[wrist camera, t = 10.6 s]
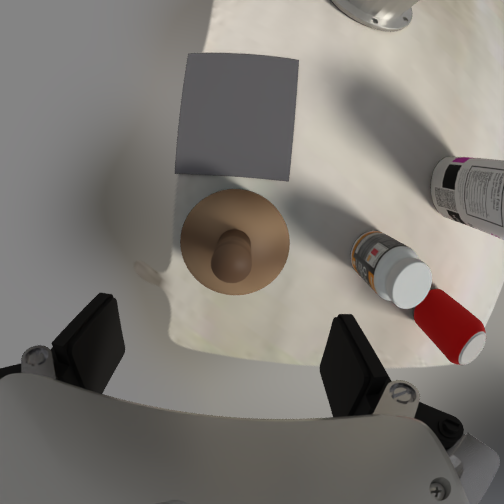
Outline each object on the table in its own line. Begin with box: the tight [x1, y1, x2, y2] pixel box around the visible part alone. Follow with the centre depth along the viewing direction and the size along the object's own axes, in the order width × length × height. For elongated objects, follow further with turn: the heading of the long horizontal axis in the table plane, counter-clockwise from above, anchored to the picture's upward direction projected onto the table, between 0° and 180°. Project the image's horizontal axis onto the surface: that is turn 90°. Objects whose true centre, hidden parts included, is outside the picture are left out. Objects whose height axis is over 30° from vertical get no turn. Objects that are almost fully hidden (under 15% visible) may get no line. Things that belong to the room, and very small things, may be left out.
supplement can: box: [431, 157, 504, 240], centre depth 21 cm, size 8×8×15 cm
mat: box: [175, 53, 299, 181], centre depth 25 cm, size 14×12×1 cm
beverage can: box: [413, 289, 486, 365], centre depth 27 cm, size 6×6×12 cm
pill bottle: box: [351, 231, 432, 309], centre depth 26 cm, size 6×6×10 cm
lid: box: [180, 189, 290, 295], centre depth 23 cm, size 10×10×6 cm
